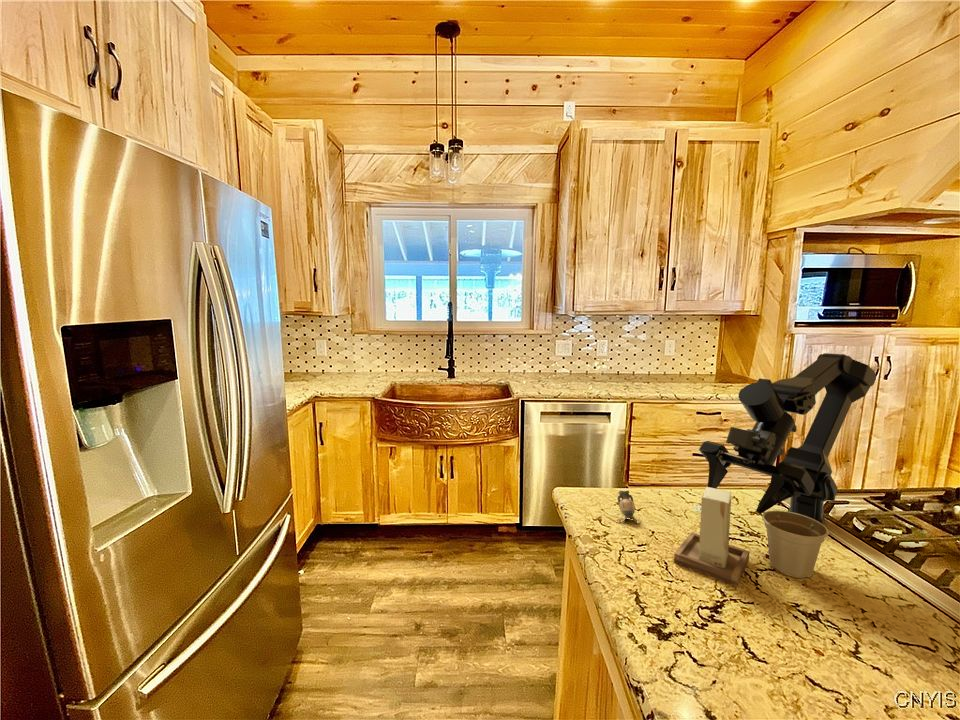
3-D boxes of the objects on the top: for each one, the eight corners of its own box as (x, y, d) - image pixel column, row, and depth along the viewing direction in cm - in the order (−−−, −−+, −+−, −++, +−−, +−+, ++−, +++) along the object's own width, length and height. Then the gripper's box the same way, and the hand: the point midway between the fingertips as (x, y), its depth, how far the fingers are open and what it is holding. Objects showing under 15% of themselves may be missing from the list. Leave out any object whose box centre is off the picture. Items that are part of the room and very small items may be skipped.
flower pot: (838, 588, 68) (842, 539, 67) (774, 581, 70) (777, 534, 69) (805, 556, 77) (808, 512, 76) (750, 551, 79) (752, 508, 78)
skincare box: (725, 570, 72) (729, 503, 71) (697, 561, 74) (700, 497, 73) (728, 553, 77) (732, 490, 76) (702, 545, 80) (705, 485, 78)
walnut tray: (690, 540, 83) (691, 532, 83) (748, 560, 76) (749, 551, 76) (674, 562, 76) (674, 553, 75) (736, 586, 69) (737, 576, 69)
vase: (610, 511, 96) (613, 486, 95) (634, 514, 95) (637, 489, 94) (614, 522, 90) (617, 496, 90) (640, 525, 90) (643, 499, 89)
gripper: (706, 403, 86) (669, 463, 82) (810, 423, 70) (770, 500, 66) (727, 433, 90) (693, 492, 87) (830, 458, 74) (793, 532, 70)
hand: (732, 502), depth 77 cm, fingers open, 9 cm apart
